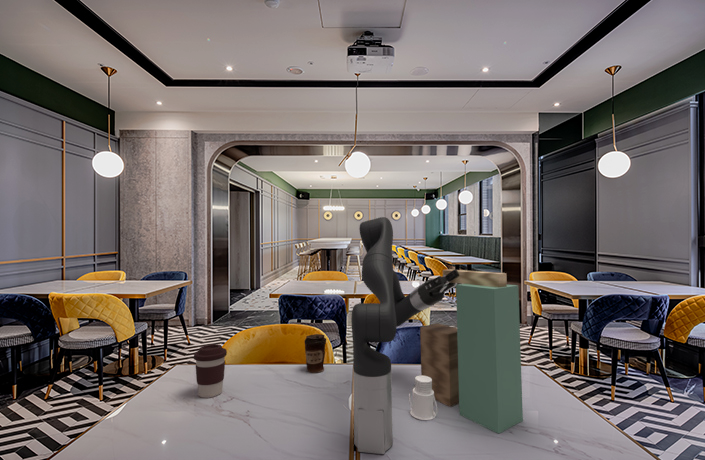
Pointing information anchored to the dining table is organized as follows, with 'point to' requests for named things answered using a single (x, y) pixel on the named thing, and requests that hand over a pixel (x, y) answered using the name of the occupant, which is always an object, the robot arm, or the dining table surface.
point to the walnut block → (441, 361)
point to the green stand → (489, 355)
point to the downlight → (423, 399)
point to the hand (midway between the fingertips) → (462, 272)
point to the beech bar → (479, 278)
